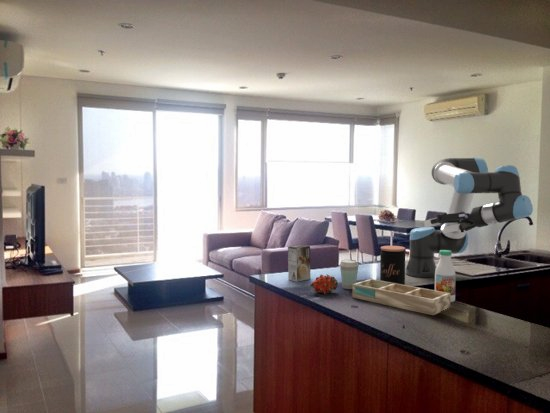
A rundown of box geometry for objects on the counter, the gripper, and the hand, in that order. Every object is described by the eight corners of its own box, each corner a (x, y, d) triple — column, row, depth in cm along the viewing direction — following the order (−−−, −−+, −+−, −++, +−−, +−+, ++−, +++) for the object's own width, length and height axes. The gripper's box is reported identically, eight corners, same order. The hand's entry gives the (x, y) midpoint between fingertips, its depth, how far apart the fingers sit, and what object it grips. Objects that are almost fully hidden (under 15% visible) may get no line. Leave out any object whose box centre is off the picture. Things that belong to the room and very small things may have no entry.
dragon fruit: (340, 296, 202) (312, 301, 201) (335, 281, 209) (308, 286, 208) (340, 283, 197) (312, 288, 196) (335, 268, 203) (308, 273, 202)
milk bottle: (430, 299, 192) (431, 249, 190) (445, 296, 195) (446, 248, 193) (444, 303, 184) (445, 252, 183) (459, 301, 187) (460, 251, 186)
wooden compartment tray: (370, 291, 204) (370, 278, 204) (450, 307, 179) (450, 293, 179) (351, 297, 194) (351, 284, 194) (432, 315, 169) (433, 300, 169)
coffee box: (301, 276, 234) (301, 244, 232) (310, 279, 229) (310, 245, 228) (287, 279, 228) (287, 246, 226) (297, 282, 223) (297, 248, 222)
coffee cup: (358, 290, 206) (358, 263, 205) (338, 289, 208) (338, 262, 207) (359, 285, 215) (359, 259, 214) (340, 284, 216) (340, 258, 215)
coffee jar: (375, 287, 210) (375, 247, 209) (387, 283, 218) (388, 244, 217) (397, 291, 203) (397, 250, 202) (409, 287, 211) (409, 247, 210)
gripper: (469, 218, 166) (417, 230, 181) (503, 231, 181) (453, 241, 196) (466, 198, 168) (415, 212, 184) (501, 212, 183) (451, 224, 199)
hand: (434, 227), depth 190 cm, fingers open, 13 cm apart
